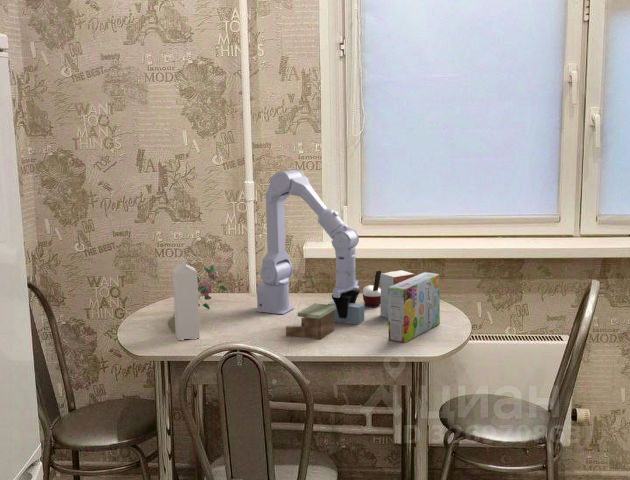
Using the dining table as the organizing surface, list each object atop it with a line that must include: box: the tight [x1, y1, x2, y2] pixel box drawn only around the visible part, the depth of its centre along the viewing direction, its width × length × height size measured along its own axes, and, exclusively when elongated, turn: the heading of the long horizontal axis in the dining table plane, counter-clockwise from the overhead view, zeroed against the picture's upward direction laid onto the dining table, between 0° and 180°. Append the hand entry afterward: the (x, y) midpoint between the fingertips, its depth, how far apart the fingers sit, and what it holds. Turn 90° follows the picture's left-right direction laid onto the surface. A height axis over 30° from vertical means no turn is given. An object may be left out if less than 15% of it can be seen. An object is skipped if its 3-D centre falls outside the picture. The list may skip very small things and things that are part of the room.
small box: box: [380, 269, 415, 318], centre depth 237 cm, size 8×6×13 cm
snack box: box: [387, 271, 441, 343], centre depth 220 cm, size 21×6×15 cm, turn 145°
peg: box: [327, 300, 365, 325], centre depth 233 cm, size 10×4×5 cm, turn 64°
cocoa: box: [362, 270, 382, 308], centre depth 248 cm, size 10×6×12 cm, turn 177°
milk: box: [172, 257, 201, 341], centre depth 217 cm, size 6×6×22 cm
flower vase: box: [167, 265, 228, 332], centre depth 240 cm, size 12×12×35 cm
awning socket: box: [285, 302, 336, 340], centre depth 221 cm, size 10×12×7 cm
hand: (345, 315), depth 233 cm, fingers closed on peg, 4 cm apart
